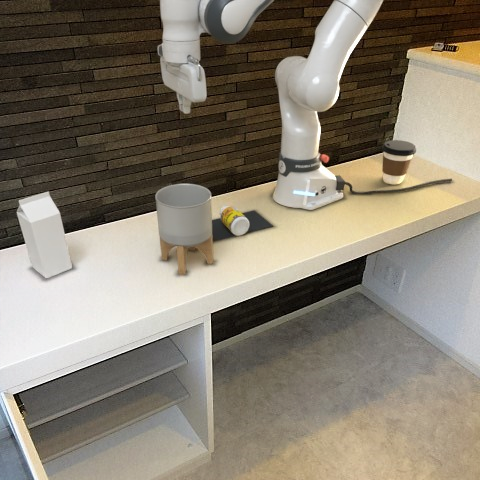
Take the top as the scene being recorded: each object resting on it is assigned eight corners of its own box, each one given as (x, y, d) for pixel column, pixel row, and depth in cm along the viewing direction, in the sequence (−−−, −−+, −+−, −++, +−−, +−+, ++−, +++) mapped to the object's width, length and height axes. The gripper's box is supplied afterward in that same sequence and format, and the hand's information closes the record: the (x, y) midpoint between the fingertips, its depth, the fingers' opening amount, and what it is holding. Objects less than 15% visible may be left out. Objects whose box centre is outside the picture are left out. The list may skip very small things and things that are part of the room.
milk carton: (72, 268, 123) (56, 196, 111) (46, 279, 119) (26, 205, 107) (58, 257, 127) (41, 186, 115) (32, 267, 123) (11, 195, 111)
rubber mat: (254, 211, 149) (254, 210, 149) (273, 226, 142) (273, 225, 141) (192, 225, 142) (192, 224, 141) (209, 242, 134) (209, 241, 134)
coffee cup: (378, 186, 164) (385, 150, 157) (373, 174, 173) (379, 139, 165) (412, 187, 164) (420, 151, 157) (404, 174, 173) (412, 139, 165)
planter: (155, 272, 122) (148, 204, 111) (168, 245, 132) (163, 181, 121) (207, 276, 121) (205, 209, 110) (217, 249, 131) (215, 185, 120)
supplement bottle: (228, 233, 134) (213, 218, 141) (244, 238, 137) (229, 223, 145) (237, 215, 132) (221, 200, 139) (253, 220, 135) (237, 205, 142)
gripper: (212, 59, 114) (213, 121, 123) (178, 44, 128) (181, 101, 137) (187, 61, 112) (190, 125, 120) (154, 46, 126) (159, 103, 134)
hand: (185, 112), depth 129 cm, fingers closed
